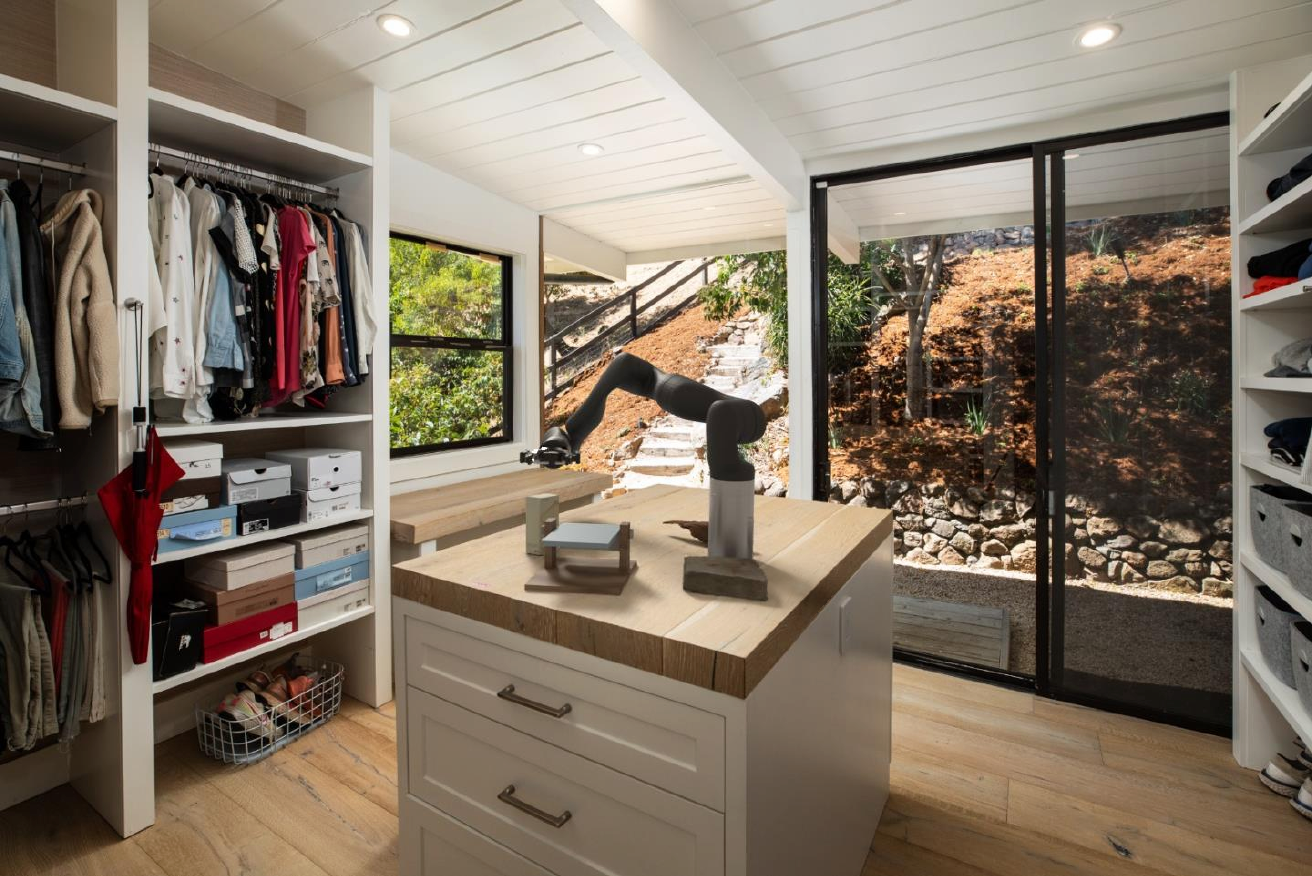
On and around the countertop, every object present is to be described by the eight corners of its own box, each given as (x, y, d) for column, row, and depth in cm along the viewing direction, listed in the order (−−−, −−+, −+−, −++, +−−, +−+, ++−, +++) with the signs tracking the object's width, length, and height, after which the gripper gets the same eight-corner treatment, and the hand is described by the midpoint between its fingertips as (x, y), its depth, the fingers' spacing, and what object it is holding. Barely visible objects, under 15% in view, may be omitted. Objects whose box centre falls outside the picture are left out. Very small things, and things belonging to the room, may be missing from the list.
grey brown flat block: (768, 603, 115) (769, 579, 115) (681, 600, 116) (682, 576, 116) (758, 574, 132) (759, 553, 131) (682, 572, 132) (683, 551, 132)
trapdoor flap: (563, 544, 135) (563, 522, 135) (622, 547, 134) (623, 525, 133) (541, 565, 120) (541, 540, 120) (607, 568, 119) (608, 543, 118)
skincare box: (540, 556, 141) (540, 498, 140) (524, 552, 144) (524, 496, 143) (559, 549, 147) (560, 494, 146) (544, 546, 149) (544, 492, 148)
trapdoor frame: (552, 560, 138) (552, 512, 137) (638, 565, 136) (638, 516, 135) (522, 589, 119) (522, 533, 118) (621, 595, 117) (622, 538, 116)
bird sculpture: (668, 531, 166) (669, 511, 166) (760, 548, 151) (760, 526, 151) (652, 536, 161) (653, 515, 160) (745, 554, 146) (746, 531, 146)
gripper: (526, 436, 170) (516, 443, 154) (583, 437, 171) (579, 445, 155) (526, 466, 171) (516, 476, 155) (583, 467, 172) (579, 477, 156)
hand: (547, 460), depth 155 cm, fingers open, 8 cm apart
